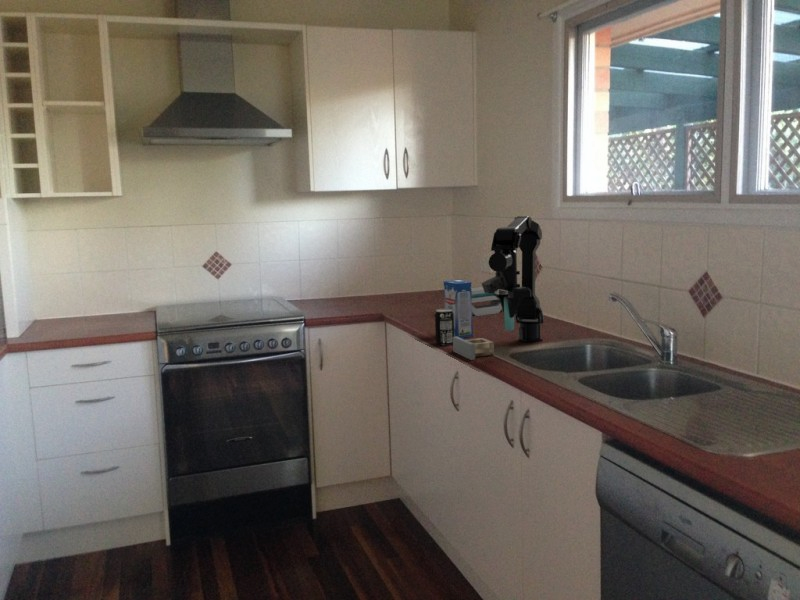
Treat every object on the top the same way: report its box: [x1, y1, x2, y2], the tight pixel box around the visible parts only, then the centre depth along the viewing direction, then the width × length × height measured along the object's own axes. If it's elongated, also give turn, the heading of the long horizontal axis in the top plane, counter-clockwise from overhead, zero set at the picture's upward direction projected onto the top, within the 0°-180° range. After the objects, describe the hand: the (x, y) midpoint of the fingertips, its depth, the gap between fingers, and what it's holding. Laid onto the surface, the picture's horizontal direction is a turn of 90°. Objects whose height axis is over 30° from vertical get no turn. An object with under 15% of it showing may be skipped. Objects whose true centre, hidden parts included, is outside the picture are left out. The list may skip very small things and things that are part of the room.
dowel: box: [503, 298, 515, 331], centre depth 230 cm, size 3×3×10 cm
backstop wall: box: [452, 336, 476, 361], centre depth 234 cm, size 2×14×5 cm, turn 19°
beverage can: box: [434, 308, 455, 346], centre depth 253 cm, size 7×7×12 cm
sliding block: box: [466, 337, 495, 358], centre depth 236 cm, size 8×8×4 cm
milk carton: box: [443, 279, 474, 339], centre depth 266 cm, size 10×6×20 cm, turn 23°
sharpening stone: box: [471, 286, 503, 317], centre depth 313 cm, size 25×8×11 cm, turn 117°
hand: (509, 316), depth 230 cm, fingers closed on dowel, 3 cm apart
